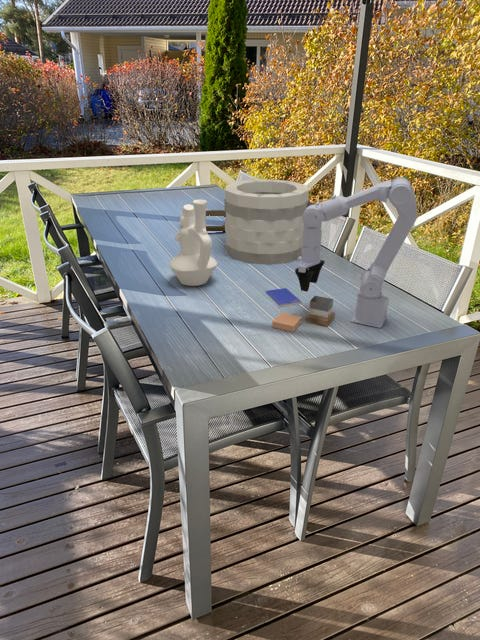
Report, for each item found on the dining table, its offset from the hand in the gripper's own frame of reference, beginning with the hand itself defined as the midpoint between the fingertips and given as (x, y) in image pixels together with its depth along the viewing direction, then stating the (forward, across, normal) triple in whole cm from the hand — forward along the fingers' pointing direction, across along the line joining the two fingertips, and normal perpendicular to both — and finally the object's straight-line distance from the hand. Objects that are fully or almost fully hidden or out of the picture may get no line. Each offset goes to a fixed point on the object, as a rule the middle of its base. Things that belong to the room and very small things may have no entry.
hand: (308, 286), depth 158 cm
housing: (+8, +3, +5) cm, 10 cm away
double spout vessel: (+9, -4, -46) cm, 47 cm away
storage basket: (+10, -50, -39) cm, 64 cm away
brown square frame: (+10, -72, -80) cm, 108 cm away
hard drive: (+10, -7, -12) cm, 17 cm away
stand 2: (+10, +3, +5) cm, 11 cm away
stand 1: (+9, +11, -3) cm, 14 cm away
